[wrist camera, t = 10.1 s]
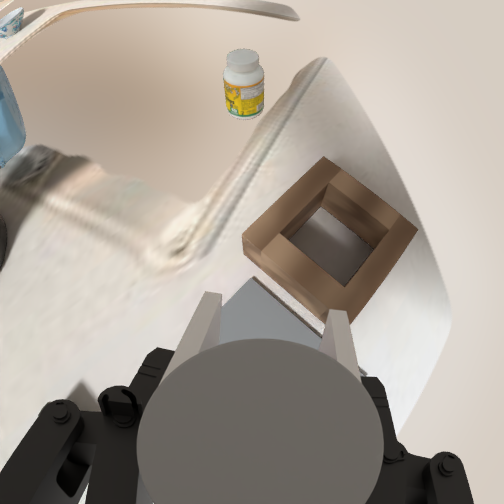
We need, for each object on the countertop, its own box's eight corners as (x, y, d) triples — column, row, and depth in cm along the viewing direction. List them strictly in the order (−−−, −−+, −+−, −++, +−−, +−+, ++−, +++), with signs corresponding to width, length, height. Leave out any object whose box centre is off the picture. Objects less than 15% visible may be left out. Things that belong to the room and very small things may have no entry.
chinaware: (1, 47, 65) (-7, 32, 57) (-8, 45, 68) (-15, 31, 61) (34, 21, 69) (28, 6, 62) (22, 21, 72) (16, 7, 65)
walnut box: (243, 253, 35) (241, 234, 31) (316, 181, 39) (323, 156, 34) (335, 333, 32) (349, 325, 27) (400, 247, 35) (418, 229, 31)
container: (311, 396, 18) (436, 429, 5) (261, 449, 17) (268, 592, 3) (255, 349, 20) (250, 277, 6) (205, 402, 18) (84, 448, 5)
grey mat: (145, 385, 30) (143, 385, 30) (251, 278, 34) (251, 277, 34) (259, 489, 26) (259, 490, 25) (365, 377, 30) (366, 377, 30)
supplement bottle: (268, 116, 43) (270, 63, 34) (232, 124, 42) (227, 71, 33) (256, 94, 45) (256, 43, 36) (222, 101, 44) (217, 50, 35)
